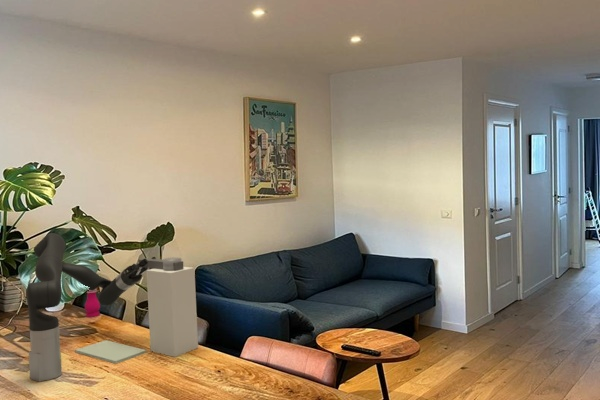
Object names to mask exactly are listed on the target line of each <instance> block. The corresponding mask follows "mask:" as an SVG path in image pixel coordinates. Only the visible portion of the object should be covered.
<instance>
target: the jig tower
mask: <svg viewBox="0 0 600 400" xmlns="http://www.w3.org/2000/svg"><path fill="white" fill-rule="evenodd" d="M183 268H184V269H182V270H177V271H164V270H163V269H154V268H153V269H150V270H146V286H147V287H146V291H147V303H148V305H147V306H148V308H147V309H148V322H149V323H148V324H149V325H148V326H149V343H150V345H149V346H150V352H152V351H153V353H156V352H157V354H160V353H161V355H164V354H165V355H164V356H168V357H173V358H177V357H178V356H182V355H184V354H187V353H189V352H191V350H192V351H194V350H196V349H199V338H198V337H199V335H198V319H197V318H198V315H197V298H196V297H197V296H196V292H197V291H196V278H195V277H196V274H195V273H196V272H195V271H196V270H195V267H191V266H190V267H189V266H183ZM186 352H187V353H186ZM181 354H182V355H181Z"/></svg>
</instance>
